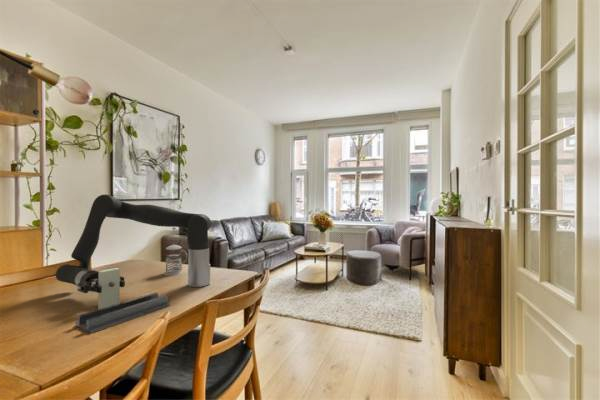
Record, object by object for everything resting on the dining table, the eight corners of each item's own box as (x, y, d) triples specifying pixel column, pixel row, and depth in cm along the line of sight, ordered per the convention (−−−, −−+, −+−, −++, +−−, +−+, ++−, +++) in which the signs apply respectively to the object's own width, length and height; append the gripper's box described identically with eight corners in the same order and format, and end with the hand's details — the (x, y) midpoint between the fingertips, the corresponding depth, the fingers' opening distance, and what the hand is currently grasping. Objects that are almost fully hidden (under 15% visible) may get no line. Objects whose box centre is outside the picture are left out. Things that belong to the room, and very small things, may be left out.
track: (153, 300, 111) (154, 291, 111) (169, 305, 106) (169, 296, 106) (75, 325, 88) (75, 314, 88) (90, 333, 83) (90, 322, 83)
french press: (164, 271, 155) (165, 226, 155) (187, 269, 159) (187, 226, 159) (162, 276, 146) (163, 228, 146) (186, 274, 150) (187, 227, 150)
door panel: (115, 304, 106) (116, 267, 106) (120, 306, 105) (121, 269, 105) (98, 309, 101) (98, 271, 101) (102, 311, 100) (103, 272, 99)
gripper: (68, 274, 104) (89, 281, 96) (110, 266, 117) (132, 272, 108) (68, 294, 104) (89, 303, 96) (110, 284, 117) (132, 291, 108)
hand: (112, 287), depth 102 cm, fingers open, 7 cm apart
